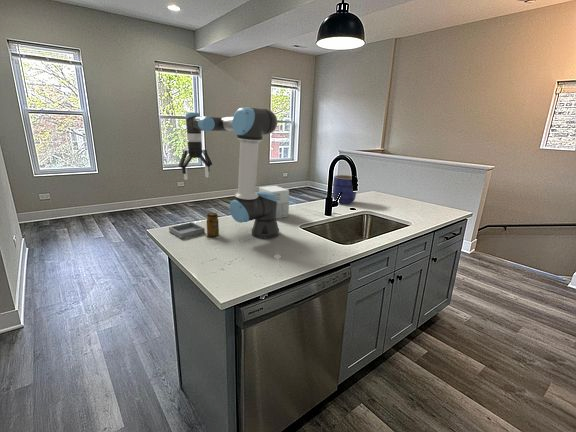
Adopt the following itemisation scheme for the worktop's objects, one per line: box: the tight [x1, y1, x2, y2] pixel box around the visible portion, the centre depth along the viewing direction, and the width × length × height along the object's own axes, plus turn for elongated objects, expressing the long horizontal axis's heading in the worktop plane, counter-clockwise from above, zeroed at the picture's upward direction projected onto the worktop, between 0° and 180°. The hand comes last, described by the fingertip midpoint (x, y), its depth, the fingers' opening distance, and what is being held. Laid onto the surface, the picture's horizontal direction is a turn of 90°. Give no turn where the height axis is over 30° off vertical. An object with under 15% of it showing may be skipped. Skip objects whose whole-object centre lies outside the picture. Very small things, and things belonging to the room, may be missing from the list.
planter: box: [332, 174, 359, 205], centre depth 233 cm, size 18×18×21 cm
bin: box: [168, 221, 206, 240], centre depth 161 cm, size 13×13×3 cm
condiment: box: [204, 212, 223, 240], centre depth 157 cm, size 7×8×12 cm
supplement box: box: [258, 185, 290, 220], centre depth 196 cm, size 17×13×18 cm
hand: (196, 178), depth 175 cm, fingers open, 13 cm apart
